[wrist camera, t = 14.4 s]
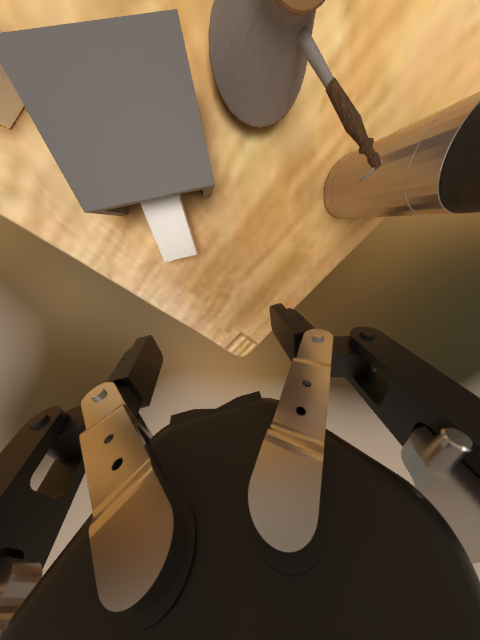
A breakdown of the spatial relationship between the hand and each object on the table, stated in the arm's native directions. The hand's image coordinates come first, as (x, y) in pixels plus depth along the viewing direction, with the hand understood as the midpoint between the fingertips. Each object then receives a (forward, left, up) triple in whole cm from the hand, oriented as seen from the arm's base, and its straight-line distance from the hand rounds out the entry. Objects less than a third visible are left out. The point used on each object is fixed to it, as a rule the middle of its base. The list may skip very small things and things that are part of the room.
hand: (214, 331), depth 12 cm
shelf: (+3, -15, -24) cm, 28 cm away
